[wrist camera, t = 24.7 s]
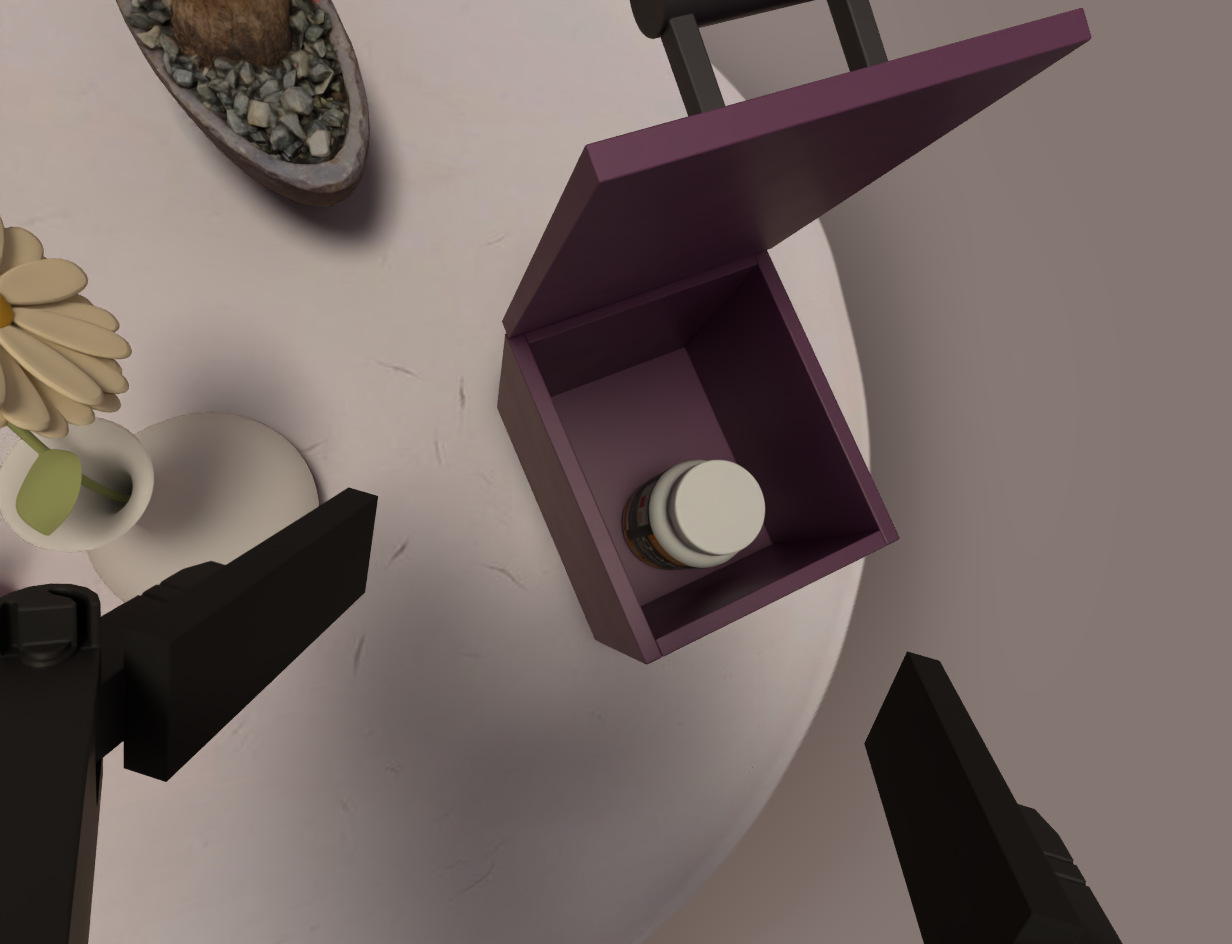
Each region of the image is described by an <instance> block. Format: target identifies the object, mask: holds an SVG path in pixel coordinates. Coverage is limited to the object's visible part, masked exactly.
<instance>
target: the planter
mask: <svg viewBox="0 0 1232 944" xmlns="http://www.w3.org/2000/svg"><path fill="white" fill-rule="evenodd" d="M116 2H117V4H118V6H119V9H120V11H121V13H122V16H123V18H124V20H125V23H126V24H127V26H128V28H129V30H130V31H131V33H132V35H133V37H134V38H135V40H136V42H137V44H138V46H139V47H140V49H141V51H142V53H143V55H144V56H145V58H146V60H147V61H148V63H149V64H150V66H151V67H152V69H153V71H154V72H155V74H156V75H157V76H158V77H159V79H160V80H161V81H162V83H163V84H164V85H165V87H166V88H167V89H168V91H169V92H170V93H171V94H172V96H173V97H174V98H175V100H176V101H177V102H178V103H179V104H180V106H181V107H182V108H183V109H184V111H185V112H186V113H187V114H188V115H189V116H190V118H191V119H192V120H193V121H194V122H195V123H196V124H197V126H198V127H199V128H200V129H201V130H202V131H203V132H204V133H205V134H206V136H207V137H208V138H209V139H210V140H211V141H212V142H213V143H214V144H215V145H216V146H217V147H218V148H219V149H220V150H221V151H222V152H223V153H224V154H225V155H226V156H227V157H228V158H229V159H230V160H231V161H232V162H233V163H235V164H236V165H237V166H238V167H239V168H240V169H241V170H243V171H244V172H245V173H247V174H248V175H249V176H251V177H252V178H254V179H255V180H257V181H258V182H260V183H261V184H262V185H264V186H266V187H267V188H269V189H271V190H273V191H275V192H277V193H278V194H280V195H282V196H284V197H286V198H289V199H291V200H294V201H297V202H299V203H302V204H305V205H313V206H333V205H334V204H336V203H338V202H341V201H343V200H344V199H345V198H346V197H348V196H349V195H350V194H351V193H352V191H353V190H354V189H355V187H356V186H357V184H358V183H359V181H360V179H361V176H362V174H363V171H364V168H365V164H366V161H367V155H368V146H369V130H370V128H369V113H368V103H367V97H366V92H365V88H364V84H363V80H362V77H361V73H360V70H359V66H358V62H357V58H356V55H355V52H354V49H353V46H352V43H351V41H350V39H349V37H348V35H347V33H346V31H345V29H344V27H343V24H342V22H341V20H340V18H339V15H338V13H337V11H336V9H335V7H334V4H333V3H332V1H331V0H116Z"/></svg>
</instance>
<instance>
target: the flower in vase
mask: <svg viewBox="0 0 1232 944" xmlns="http://www.w3.org/2000/svg"><path fill="white" fill-rule="evenodd" d="M43 254H44V250H43V246H42V244H41V242H40V240H39V239H38V238H37V237H36V236H35V235H33V234H32V233H31V232H29V231H28V230H25V229H23V228H20V227H9V228H4V226H3V222H2V219H1V217H0V428H2V427H5V426H6V425H7V426H8V427H9V428H10V429H11V430H12V431H13V432H15V433H16V434H17V435H18V436H19V437H20V438H21V439H20V440H19V441H18V442H17V443H16V444H15V445H14V446H13V448H12V449H11V450H10V452H9V453H8V454H7V456H6V457H5V459H4V461H3V463H2V465H1V468H0V512H1V514H2V516H3V518H4V520H5V521H6V523H7V524H8V526H9V527H10V528H11V529H12V530H13V531H14V532H15V533H16V534H17V535H18V536H20V537H21V538H22V539H24V540H25V541H27V542H29V543H30V544H33V545H35V546H37V547H40V548H43V549H46V550H50V551H57V552H81V551H86V550H87V553H88V556H89V558H90V560H91V562H92V565H93V567H94V569H95V570H96V572H97V573H98V575H99V576H100V578H101V579H102V581H103V582H104V583H105V584H106V585H107V587H108V588H109V589H110V590H111V591H112V592H113V593H114V594H115V595H116V596H117V597H119V598H120V599H121V600H122V601H124V602H127V601H129V600H130V599H132V598H134V597H136V596H137V595H140V596H141V595H142V594H143V592H144V591H146V590H147V589H149V588H151V587H153V586H154V585H156V584H157V585H160V583H161V581H163V580H165V579H166V578H168V577H170V576H171V575H173V574H175V573H177V572H178V571H180V570H182V569H184V568H187V567H191V566H194V565H198V564H201V563H205V562H208V561H214V562H217V563H220V564H224V565H226V564H228V563H230V562H231V561H233V560H234V559H236V558H238V557H239V556H241V555H242V554H244V553H245V552H247V551H249V550H250V549H252V548H253V547H255V546H257V545H258V544H260V543H261V542H263V541H265V540H266V539H268V538H269V537H271V536H272V535H274V534H276V533H277V532H279V531H280V530H282V529H284V528H285V527H287V526H288V525H290V524H292V523H293V522H295V521H296V520H298V519H300V518H301V517H303V516H304V515H306V514H307V513H309V512H311V511H312V510H314V509H315V508H317V507H319V500H318V494H317V489H316V485H315V482H314V479H313V476H312V474H311V472H310V470H309V468H308V466H307V464H306V462H305V461H304V459H303V458H302V456H301V455H300V453H299V452H298V451H297V450H296V449H295V448H294V447H293V446H292V444H291V443H290V442H288V441H287V440H286V439H285V438H284V437H282V436H281V435H280V434H279V433H277V432H275V431H274V430H272V429H271V428H269V427H267V426H265V425H263V424H261V423H259V422H257V421H255V420H251V419H248V418H245V417H242V416H238V415H232V414H227V413H214V412H209V413H194V414H188V415H182V416H178V417H175V418H171V419H167V420H164V421H162V422H159V423H157V424H154V425H152V426H149V427H148V428H146V429H144V430H142V431H140V432H138V433H137V434H135V435H134V434H132V433H131V432H130V431H129V430H127V429H126V428H124V427H122V426H121V425H119V424H116V423H114V422H112V421H109V420H106V419H102V418H97V417H95V414H94V412H93V410H92V409H95V410H98V411H102V412H115V411H118V410H119V409H120V407H121V403H120V400H119V399H118V397H117V396H116V395H115V394H120V393H124V392H126V391H127V390H128V389H129V384H128V381H127V380H126V378H125V377H124V376H123V375H122V369H121V367H120V365H119V364H118V363H117V362H116V361H115V360H114V359H124V358H127V357H129V356H130V355H131V352H132V350H131V347H130V345H129V343H128V342H127V341H126V340H125V339H124V338H122V337H121V336H120V335H118V334H116V333H114V332H116V331H117V330H118V329H119V322H118V320H117V319H116V318H115V317H114V316H113V315H112V314H111V313H110V312H108V311H106V310H104V309H102V308H99V307H96V306H94V305H93V304H92V303H91V302H90V301H89V300H88V299H86V298H85V297H83V296H81V295H79V294H78V293H79V292H81V291H82V290H83V289H84V288H85V287H86V285H87V283H88V278H87V276H86V274H85V272H84V271H83V270H82V269H81V268H80V267H79V266H77V265H76V264H74V263H73V262H70V261H68V260H64V259H47V258H45V257H44V256H43ZM91 408H92V409H91ZM30 431H31V432H30Z"/></svg>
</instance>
